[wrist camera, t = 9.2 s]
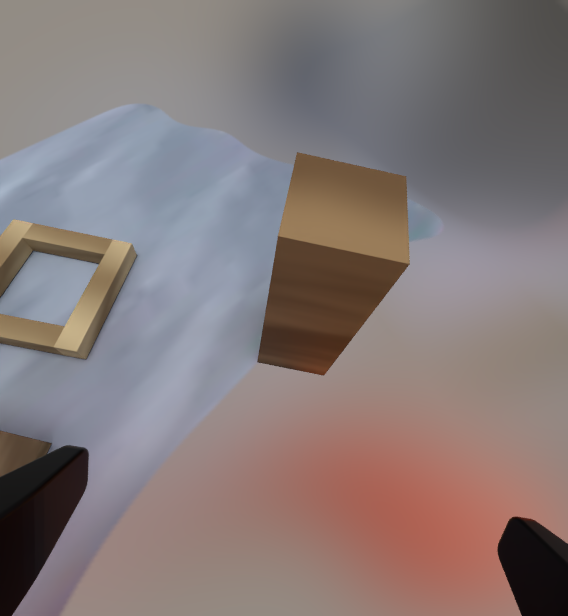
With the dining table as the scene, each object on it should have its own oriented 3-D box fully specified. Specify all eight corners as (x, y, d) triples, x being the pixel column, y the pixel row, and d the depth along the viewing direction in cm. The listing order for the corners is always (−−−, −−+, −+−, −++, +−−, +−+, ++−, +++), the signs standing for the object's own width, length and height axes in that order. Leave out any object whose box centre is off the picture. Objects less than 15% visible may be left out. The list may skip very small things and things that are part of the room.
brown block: (323, 375, 19) (409, 264, 10) (257, 362, 19) (277, 235, 10) (330, 316, 21) (406, 176, 12) (269, 304, 21) (297, 152, 12)
